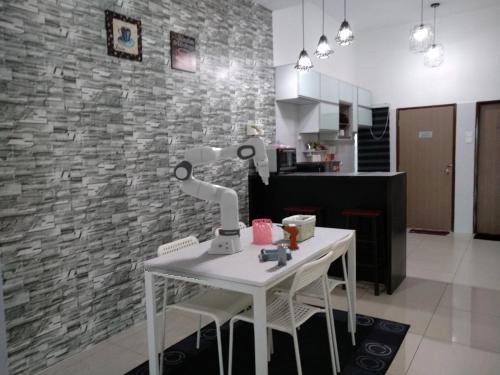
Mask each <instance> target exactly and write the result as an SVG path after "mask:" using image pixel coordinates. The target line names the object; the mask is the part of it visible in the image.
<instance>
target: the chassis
mask: <svg viewBox="0 0 500 375" xmlns="http://www.w3.org/2000/svg"><path fill="white" fill-rule="evenodd" d="M259 258H260V261H263V262H266V261H276V260H277V261H278V255H277V248H271V249H269V248H268V249H266V248H261V249H260V253H259ZM286 258H287V261H288V260H292V259H293V255H292V252H291V249H288V247H286Z"/></svg>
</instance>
